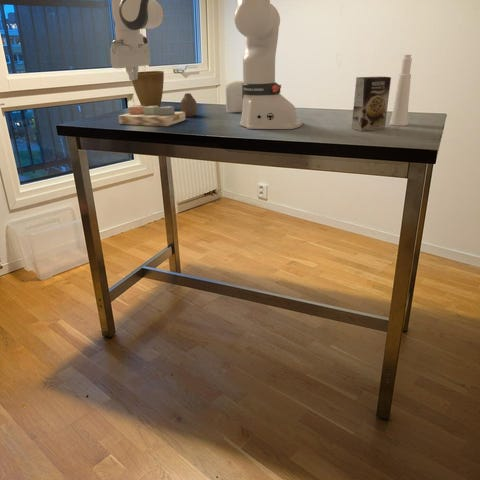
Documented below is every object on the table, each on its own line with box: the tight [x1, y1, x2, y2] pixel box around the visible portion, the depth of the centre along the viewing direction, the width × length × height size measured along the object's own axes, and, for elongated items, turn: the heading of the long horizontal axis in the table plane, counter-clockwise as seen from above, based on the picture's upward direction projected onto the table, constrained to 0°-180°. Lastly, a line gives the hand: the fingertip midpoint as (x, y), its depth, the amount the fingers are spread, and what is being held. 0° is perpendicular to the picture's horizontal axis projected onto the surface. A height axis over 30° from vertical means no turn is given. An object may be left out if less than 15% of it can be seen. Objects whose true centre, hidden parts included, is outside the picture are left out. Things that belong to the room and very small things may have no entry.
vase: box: [180, 92, 198, 118], centre depth 174 cm, size 7×7×9 cm
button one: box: [128, 105, 145, 115], centre depth 166 cm, size 4×4×3 cm
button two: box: [158, 105, 176, 116], centre depth 161 cm, size 4×4×3 cm
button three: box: [143, 106, 159, 115], centre depth 163 cm, size 4×4×3 cm
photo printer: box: [225, 80, 243, 114], centre depth 179 cm, size 10×4×12 cm, turn 109°
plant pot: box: [131, 70, 165, 108], centre depth 193 cm, size 15×15×16 cm
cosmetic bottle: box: [389, 54, 413, 127], centre depth 142 cm, size 6×6×22 cm
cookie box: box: [351, 76, 392, 132], centre depth 138 cm, size 9×6×16 cm
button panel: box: [118, 111, 186, 127], centre depth 164 cm, size 21×14×3 cm, turn 68°
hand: (133, 79), depth 161 cm, fingers closed
